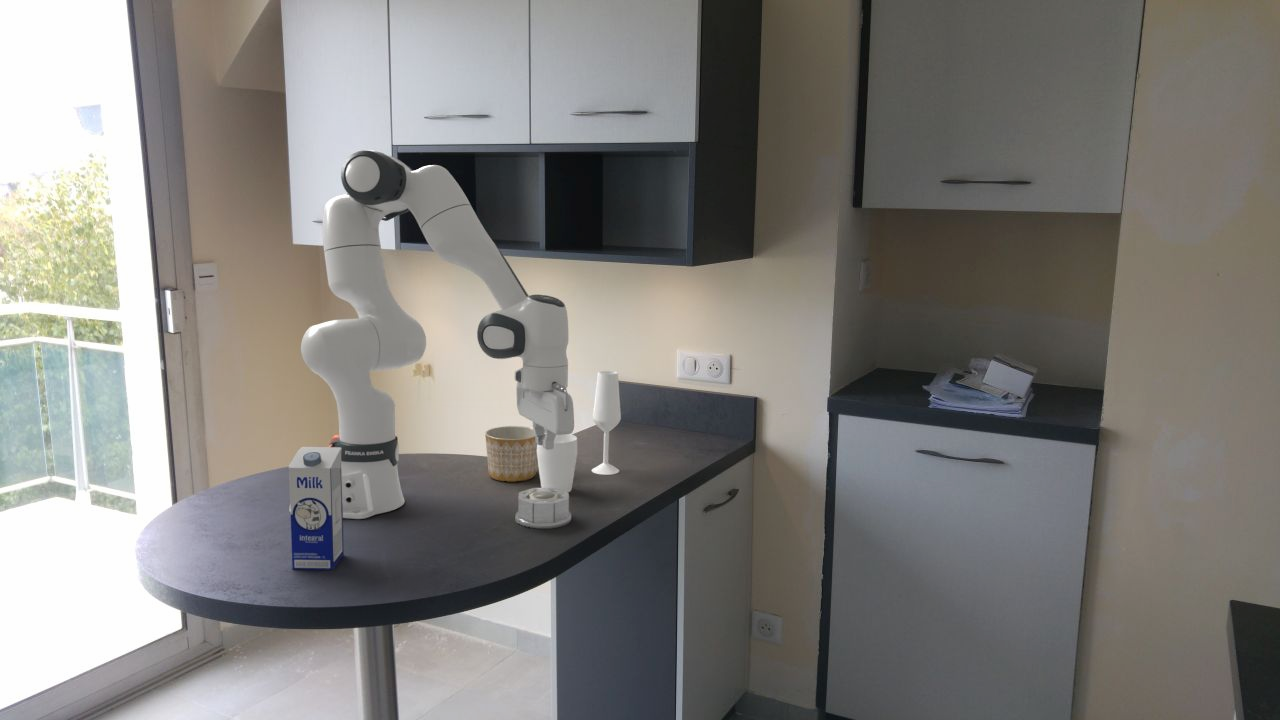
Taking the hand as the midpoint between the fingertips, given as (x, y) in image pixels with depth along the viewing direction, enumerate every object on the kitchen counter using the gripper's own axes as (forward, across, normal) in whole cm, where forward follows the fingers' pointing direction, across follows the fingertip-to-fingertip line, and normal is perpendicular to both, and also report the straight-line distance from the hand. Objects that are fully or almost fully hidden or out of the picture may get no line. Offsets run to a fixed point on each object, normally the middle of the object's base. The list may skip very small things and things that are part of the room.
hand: (544, 446), depth 180 cm
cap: (+14, 0, 0) cm, 14 cm away
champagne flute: (+15, +25, -27) cm, 40 cm away
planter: (+15, +30, -5) cm, 34 cm away
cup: (+15, +16, -10) cm, 25 cm away
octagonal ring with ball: (+15, 0, 0) cm, 15 cm away
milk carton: (+15, -4, +44) cm, 47 cm away
